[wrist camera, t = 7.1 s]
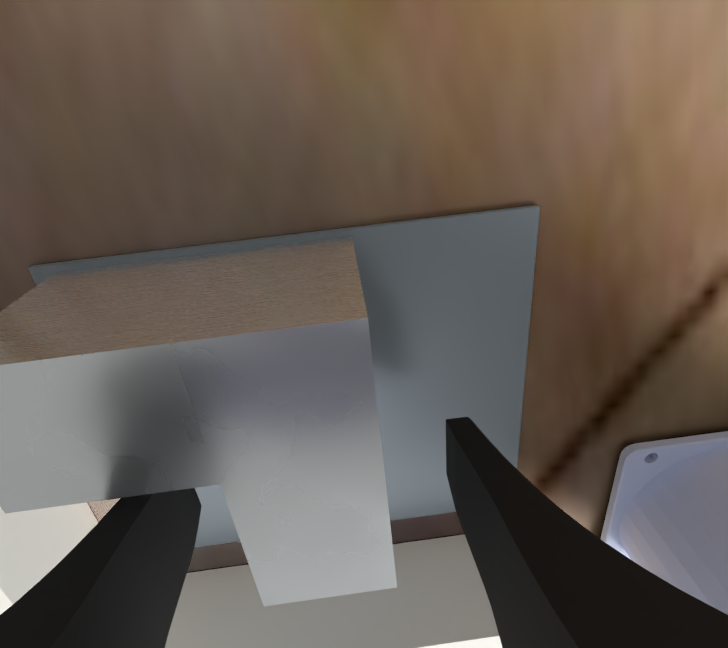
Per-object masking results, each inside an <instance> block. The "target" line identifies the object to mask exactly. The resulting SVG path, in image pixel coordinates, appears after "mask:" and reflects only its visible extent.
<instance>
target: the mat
mask: <svg viewBox="0 0 728 648" xmlns="http://www.w3.org/2000/svg"><path fill="white" fill-rule="evenodd" d="M539 215H540V206H539V205H531V206H522V207H514V208H506V209H497V210H489V211H481V212H472V213H464V214H456V215H447V216H439V217H431V218H423V219H414V220H406V221H398V222H389V223H381V224H373V225H364V226H356V227H348V228H339V229H331V230H323V231H314V232H306V233H298V234H289V235H281V236H273V237H264V238H256V239H248V240H239V241H231V242H223V243H214V244H206V245H198V246H189V247H181V248H173V249H164V250H156V251H148V252H139V253H131V254H123V255H114V256H106V257H98V258H89V259H81V260H73V261H65V262H56V263H48V264H40V265H32V266H30V267H28V270H29V272H30V274H31V277H32V279H33V281H34V283H35V285H36V286H37V285H39V284H40V283H42V282H43V281H44V280H46V279H47V278H49V277H50V276H51V275H53V274H54V273H56V272H57V271H62V270H70V269H78V268H86V267H94V266H102V265H111V264H119V263H127V262H135V261H143V260H151V259H159V258H167V257H176V256H184V255H192V254H200V253H208V252H216V251H224V250H232V249H241V248H249V247H257V246H265V245H273V244H281V243H289V242H298V241H306V240H314V239H322V238H330V237H338V236H346V235H352V240H353V245H354V250H355V255H356V260H357V265H358V270H359V275H360V280H361V285H362V291H363V296H364V301H365V306H366V311H367V316H368V323H369V333H370V342H371V351H372V360H373V369H374V379H375V388H376V397H377V406H378V415H379V425H380V434H381V443H382V452H383V461H384V470H385V480H386V489H387V498H388V507H389V516H390V521H393V520H400V519H407V518H415V517H422V516H429V515H436V514H444V513H451V512H456V509H455V506H454V502H453V498H452V494H451V490H450V486H449V482H448V478H447V474H446V419H453V418H461V417H469V418H470V419H472V421H473V422H474V423H475V424H476V425H477V427H478V428H479V429H480V430H481V431H482V432H483V434H484V435H485V436H486V437H487V438H488V439H489V440H490V442H491V443H492V444H493V445H494V446H495V447H496V448H497V449H498V450H499V451H500V452H501V453H502V454H503V456H504V457H505V458H506V459H507V460H508V461H509V462H510V463H511V464H512V465H513V466H514V467H515V468H516V469H517V462H518V451H519V440H520V428H521V417H522V406H523V395H524V383H525V372H526V361H527V350H528V338H529V327H530V316H531V305H532V293H533V282H534V271H535V260H536V248H537V237H538V226H539ZM195 490H196V493H197V495H198V498H199V500H200V503H201V513H200V519H199V526H198V531H197V537H196V542H195V546H194V548H197V547H204V546H211V545H218V544H226V543H233V542H240V539H239V536H238V533H237V530H236V528H235V525H234V522H233V519H232V516H231V514H230V511H229V508H228V505H227V502H226V500H225V497H224V494H223V491H222V488H221V486H220V484H219V485H212V486H204V487H197V488H195Z"/></svg>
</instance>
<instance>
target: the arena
mask: <svg viewBox="0 0 728 648" xmlns="http://www.w3.org/2000/svg"><path fill="white" fill-rule="evenodd" d="M97 524H98V521H97V519H96V518H95V516H94V514H93V512H92V511H91V509H90V507H89V505H88V504H87V503H79V504H72V505H65V506H57V507H50V508H43V509H35V510H28V511H20V512H13V513H6V514H5V513H4V511H3V510H2V508H1V507H0V615H1V614H2V613H3V612H4V611H6V610H7V609H8V608H9V607H11V606H12V605H13V604H14V603H15V602H16V601H18V600H19V599H20V598H21V597H22V596H23V595H24V594H26V593H27V592H28V591H29V590H30V589H31V588H32V587H33V586H34V585H36V584H37V583H38V582H39V581H40V580H41V579H42V578H43V577H44V576H46V575H47V574H48V573H49V572H50V571H51V570H52V569H53V568H54V567H55V566H56V565H57V564H58V563H59V562H60V561H61V560H62V559H63V558H64V557H65V556H66V555H67V554H68V553H69V552H70V551H71V550H72V549H73V548H74V547H75V546H76V545H77V544H78V543H79V542H80V541H81V540H82V539H83V538H84V537H85V536H86V535H87V534H88V533H89V532H90V531H91V530H92V529H93V528H94V527H95V526H96V525H97ZM393 553H394V562H395V571H396V581H397V588H390V589H383V590H376V591H369V592H362V593H355V594H348V595H341V596H334V597H327V598H320V599H313V600H306V601H299V602H292V603H285V604H278V605H271V606H263V603H262V600H261V597H260V595H259V592H258V589H257V586H256V583H255V581H254V578H253V575H252V572H251V569H250V567H249V564H248V565H241V566H234V567H226V568H219V569H212V570H205V571H198V572H191V573H187V574H186V577H185V580H184V584H183V587H182V590H181V594H180V597H179V600H178V604H177V607H176V610H175V613H174V617H173V620H172V623H171V627H170V630H169V633H168V637H167V641H166V645H165V648H503V647H502V644H501V640H500V637H499V633H498V629H497V626H496V622H495V619H494V615H493V611H492V608H491V605H490V602H489V599H488V596H487V593H486V590H485V587H484V585H483V582H482V579H481V577H480V574H479V571H478V569H477V566H476V563H475V561H474V558H473V555H472V553H471V550H470V547H469V545H468V542H467V539H466V537H465V534H464V535H456V536H449V537H442V538H435V539H428V540H421V541H413V542H406V543H399V544H393Z"/></svg>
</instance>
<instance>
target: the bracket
mask: <svg viewBox="0 0 728 648" xmlns="http://www.w3.org/2000/svg"><path fill="white" fill-rule="evenodd" d="M219 484H220V486H221V488H222V491H223V494H224V497H225V500H226V502H227V505H228V508H229V511H230V514H231V516H232V519H233V522H234V525H235V528H236V530H237V533H238V536H239V539H240V542H241V544H242V547H243V550H244V553H245V556H246V558H247V561H248V564H249V567H250V569H251V572H252V575H253V578H254V581H255V583H256V586H257V589H258V592H259V595H260V597H261V600H262V603H263V606H271V605H278V604H285V603H292V602H299V601H306V600H313V599H320V598H327V597H334V596H341V595H348V594H355V593H362V592H369V591H376V590H383V589H390V588H397V581H396V571H395V562H394V553H393V544H392V535H391V526H390V516H389V507H388V498H387V489H386V480H385V470H384V461H383V452H382V443H381V434H380V425H379V415H378V406H377V397H376V388H375V379H374V369H373V360H372V351H371V342H370V333H369V323H368V316H367V311H366V306H365V301H364V296H363V291H362V285H361V280H360V275H359V270H358V265H357V260H356V255H355V250H354V245H353V240H352V235H346V236H338V237H330V238H322V239H314V240H306V241H298V242H289V243H281V244H273V245H265V246H257V247H249V248H241V249H232V250H224V251H216V252H208V253H200V254H192V255H184V256H176V257H167V258H159V259H151V260H143V261H135V262H127V263H119V264H111V265H102V266H94V267H86V268H78V269H70V270H62V271H57V272H56V273H54V274H53V275H51V276H50V277H49V278H47V279H46V280H44V281H43V282H42V283H40V284H39V285H37V286H36V287H34V288H33V289H32V290H30V291H29V292H27V293H26V294H25V295H23V296H22V297H20V298H19V299H17V300H16V301H15V302H13V303H12V304H10V305H9V306H8V307H6V308H5V309H3V310H2V311H0V507H1V508H2V510H3V511H4V513H5V514H6V513H13V512H20V511H28V510H35V509H43V508H50V507H57V506H65V505H72V504H79V503H87V502H94V501H101V500H109V499H116V498H123V497H131V496H138V495H145V494H153V493H160V492H167V491H175V490H182V489H190V488H197V487H204V486H212V485H219Z"/></svg>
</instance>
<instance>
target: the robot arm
mask: <svg viewBox="0 0 728 648" xmlns="http://www.w3.org/2000/svg"><path fill="white" fill-rule="evenodd" d="M446 474H447V478H448V482H449V486H450V490H451V494H452V498H453V502H454V506H455V509H456V512H457V515H458V518H459V520H460V523H461V526H462V529H463V531H464V534H465V537H466V539H467V542H468V545H469V547H470V550H471V553H472V555H473V558H474V561H475V563H476V566H477V569H478V571H479V574H480V577H481V579H482V582H483V585H484V587H485V590H486V593H487V596H488V599H489V602H490V605H491V608H492V611H493V615H494V619H495V622H496V626H497V629H498V633H499V637H500V640H501V644H502V647H503V648H728V431H724V432H717V433H709V434H702V435H694V436H687V437H680V438H672V439H665V440H657V441H650V442H643V443H635V444H631V445H629V446H627V447H625V448H624V449H623V450H622V452H621V454H620V457H619V462H618V466H617V470H616V474H615V479H614V483H613V487H612V491H611V496H610V500H609V504H608V508H607V513H606V517H605V521H604V525H603V530H602V534H601V538H600V539H599V538H598V537H597V536H595V535H594V534H593V533H591V532H590V531H589V530H587V529H586V528H584V527H583V526H582V525H581V524H579V523H578V522H577V521H575V520H574V519H573V518H572V517H570V516H569V515H568V514H566V513H565V512H564V511H563V510H562V509H560V508H559V507H558V506H557V505H556V504H554V503H553V502H552V501H551V500H550V499H549V498H547V497H546V496H545V495H544V494H543V493H542V492H541V491H540V490H538V489H537V488H536V487H535V486H534V485H533V484H532V483H531V482H530V481H529V480H528V479H527V478H526V477H524V476H523V475H522V474H521V473H520V472H519V471H518V470H517V469H516V468H515V467H514V466H513V465H512V464H511V463H510V462H509V461H508V460H507V459H506V458H505V457H504V456H503V454H502V453H501V452H500V451H499V450H498V449H497V448H496V447H495V446H494V445H493V444H492V443H491V442H490V440H489V439H488V438H487V437H486V436H485V435H484V434H483V432H482V431H481V430H480V429H479V428H478V427H477V425H476V424H475V423H474V422H473V421H472V419H470V418H469V417H461V418H453V419H446ZM200 513H201V503H200V500H199V498H198V495H197V493H196V490H195V488H190V489H182V490H175V491H167V492H160V493H153V494H145V495H138V496H131V497H123V498H121V499H120V500H119V501H118V502H117V503H116V504H115V505H114V506H113V507H112V508H111V510H110V511H109V512H108V513H107V514H106V515H105V516H104V517H103V518H102V519H101V521H100V522H99V523H98V524H97V525H96V526H95V527H94V528H93V529H92V530H91V531H90V532H89V533H88V534H87V535H86V536H85V537H84V538H83V539H82V540H81V541H80V542H79V543H78V544H77V545H76V546H75V547H74V548H73V549H72V550H71V551H70V552H69V553H68V554H67V555H66V556H65V557H64V558H63V559H62V560H61V561H60V562H59V563H58V564H57V565H56V566H55V567H54V568H53V569H52V570H51V571H50V572H49V573H48V574H47V575H46V576H44V577H43V578H42V579H41V580H40V581H39V582H38V583H37V584H36V585H34V586H33V587H32V588H31V589H30V590H29V591H28V592H27V593H26V594H24V595H23V596H22V597H21V598H20V599H19V600H18V601H16V602H15V603H14V604H13V605H12V606H11V607H9V608H8V609H7V610H6V611H4V612H3V613H2V614H1V615H0V648H165V645H166V641H167V637H168V633H169V630H170V627H171V623H172V620H173V617H174V613H175V610H176V607H177V604H178V600H179V597H180V594H181V590H182V587H183V584H184V580H185V577H186V574H187V570H188V567H189V564H190V560H191V557H192V553H193V550H194V546H195V542H196V537H197V531H198V526H199V519H200Z"/></svg>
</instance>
